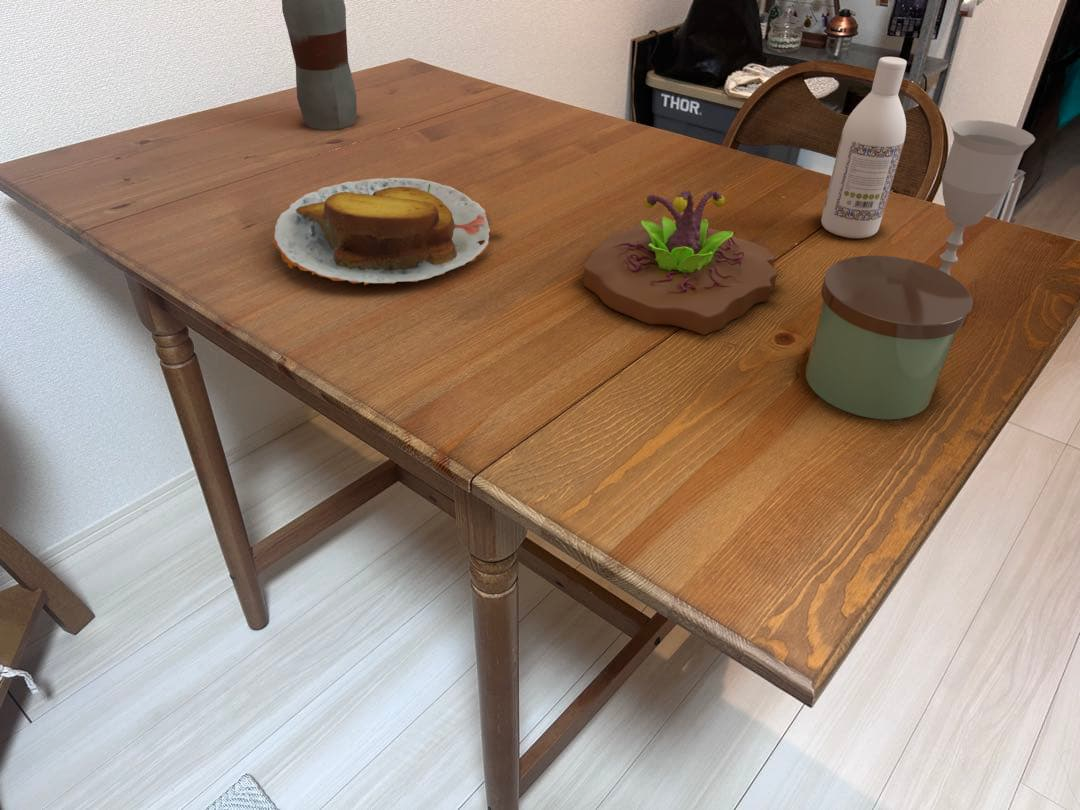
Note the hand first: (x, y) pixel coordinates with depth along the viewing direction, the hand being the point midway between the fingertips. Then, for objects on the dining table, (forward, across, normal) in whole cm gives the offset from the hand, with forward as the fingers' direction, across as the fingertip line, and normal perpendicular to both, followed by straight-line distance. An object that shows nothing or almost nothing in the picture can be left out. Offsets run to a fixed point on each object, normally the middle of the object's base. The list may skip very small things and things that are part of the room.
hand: (922, 8), depth 96 cm
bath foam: (+25, 0, +8) cm, 26 cm away
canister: (+48, +10, -15) cm, 51 cm away
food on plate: (+49, -46, -16) cm, 69 cm away
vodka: (+29, -81, +4) cm, 86 cm away
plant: (+42, -13, -9) cm, 45 cm away
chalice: (+34, +12, -1) cm, 36 cm away
